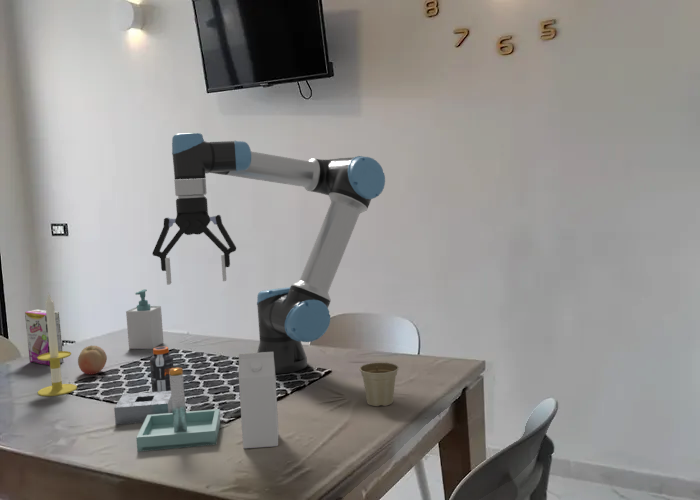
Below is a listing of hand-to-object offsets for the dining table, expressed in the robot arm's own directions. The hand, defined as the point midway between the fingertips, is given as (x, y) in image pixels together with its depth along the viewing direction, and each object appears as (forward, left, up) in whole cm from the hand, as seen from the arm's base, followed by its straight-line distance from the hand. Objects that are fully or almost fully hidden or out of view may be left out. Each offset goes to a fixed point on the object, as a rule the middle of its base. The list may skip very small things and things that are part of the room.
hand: (197, 282), depth 175 cm
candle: (+41, -17, -30) cm, 53 cm away
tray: (+3, +26, -30) cm, 40 cm away
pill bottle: (+12, -11, -30) cm, 34 cm away
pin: (+3, +26, -29) cm, 39 cm away
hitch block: (+13, +10, -30) cm, 34 cm away
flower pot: (-43, +15, -30) cm, 54 cm away
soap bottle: (+25, -64, -30) cm, 75 cm away
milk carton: (-14, +33, -30) cm, 47 cm away
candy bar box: (+53, -50, -30) cm, 79 cm away
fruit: (+35, -33, -30) cm, 56 cm away
